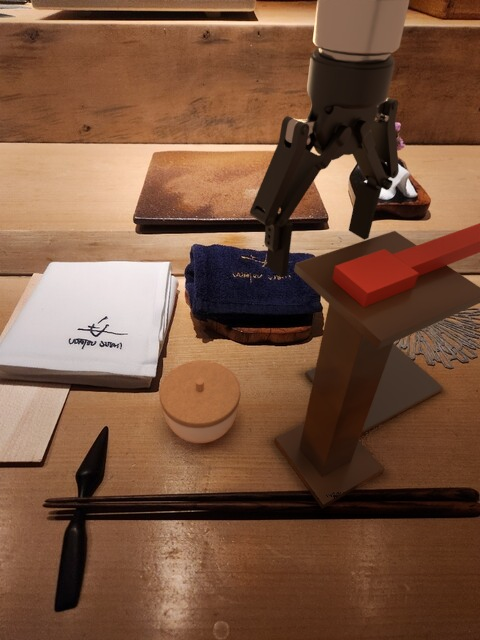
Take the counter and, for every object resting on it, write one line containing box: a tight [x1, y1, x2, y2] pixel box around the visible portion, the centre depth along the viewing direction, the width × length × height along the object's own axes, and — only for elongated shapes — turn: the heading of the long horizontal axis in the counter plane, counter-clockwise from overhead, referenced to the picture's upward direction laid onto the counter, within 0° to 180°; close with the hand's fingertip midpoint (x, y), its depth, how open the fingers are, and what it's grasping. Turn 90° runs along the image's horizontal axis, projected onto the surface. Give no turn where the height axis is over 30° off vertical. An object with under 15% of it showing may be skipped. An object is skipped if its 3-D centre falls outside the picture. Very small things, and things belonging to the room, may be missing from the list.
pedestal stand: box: [273, 230, 480, 510], centre depth 53 cm, size 12×13×30 cm
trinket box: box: [158, 359, 241, 444], centre depth 63 cm, size 11×11×9 cm
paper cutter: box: [304, 343, 444, 435], centre depth 72 cm, size 13×17×1 cm
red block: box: [332, 222, 480, 307], centre depth 44 cm, size 4×20×2 cm, turn 120°
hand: (319, 251), depth 55 cm, fingers open, 13 cm apart
